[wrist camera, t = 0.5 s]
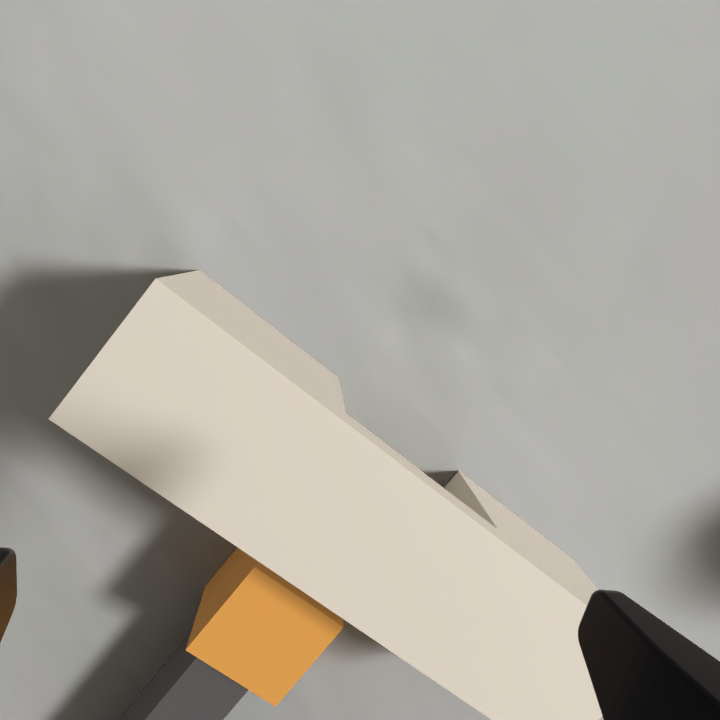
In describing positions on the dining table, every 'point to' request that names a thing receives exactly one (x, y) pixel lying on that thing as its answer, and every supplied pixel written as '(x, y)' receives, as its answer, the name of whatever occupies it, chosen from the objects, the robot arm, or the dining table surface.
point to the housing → (334, 501)
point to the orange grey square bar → (239, 645)
